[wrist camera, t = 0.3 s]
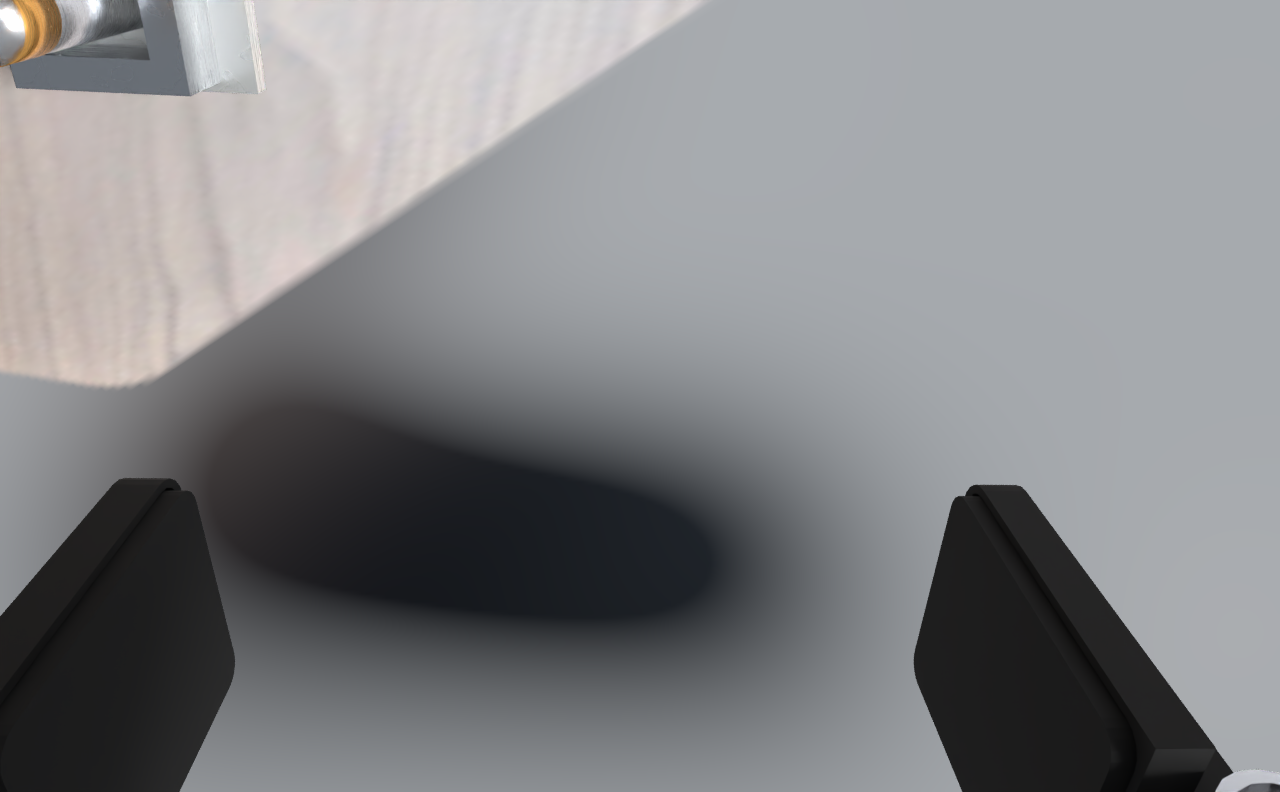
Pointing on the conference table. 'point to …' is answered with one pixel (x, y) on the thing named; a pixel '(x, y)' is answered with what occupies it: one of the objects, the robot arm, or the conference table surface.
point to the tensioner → (161, 54)
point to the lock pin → (60, 25)
